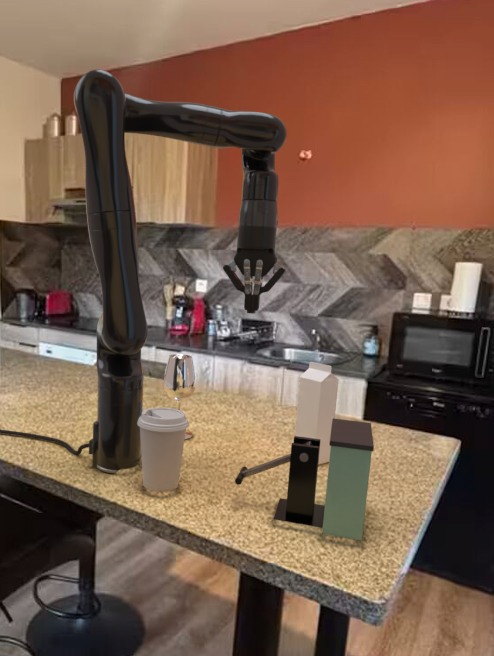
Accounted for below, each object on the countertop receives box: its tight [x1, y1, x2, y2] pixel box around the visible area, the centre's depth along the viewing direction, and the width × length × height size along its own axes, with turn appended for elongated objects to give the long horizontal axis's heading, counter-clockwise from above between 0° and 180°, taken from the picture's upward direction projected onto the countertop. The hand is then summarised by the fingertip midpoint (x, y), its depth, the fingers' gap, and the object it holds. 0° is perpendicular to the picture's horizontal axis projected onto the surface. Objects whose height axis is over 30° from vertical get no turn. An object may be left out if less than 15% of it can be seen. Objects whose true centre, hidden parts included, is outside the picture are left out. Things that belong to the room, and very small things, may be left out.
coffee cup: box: [137, 407, 190, 492], centre depth 103 cm, size 10×10×15 cm
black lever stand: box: [273, 435, 325, 529], centre depth 94 cm, size 8×9×14 cm
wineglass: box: [162, 353, 196, 440], centre depth 136 cm, size 8×8×20 cm
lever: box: [234, 441, 313, 486], centre depth 95 cm, size 14×6×2 cm, turn 72°
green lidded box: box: [321, 418, 375, 541], centre depth 91 cm, size 6×13×17 cm, turn 163°
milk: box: [294, 361, 340, 466], centre depth 122 cm, size 6×6×22 cm
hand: (251, 313), depth 112 cm, fingers closed
